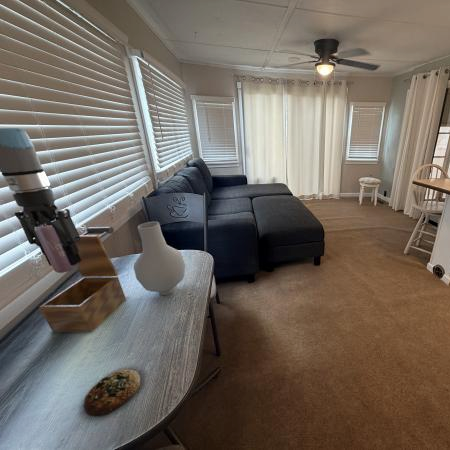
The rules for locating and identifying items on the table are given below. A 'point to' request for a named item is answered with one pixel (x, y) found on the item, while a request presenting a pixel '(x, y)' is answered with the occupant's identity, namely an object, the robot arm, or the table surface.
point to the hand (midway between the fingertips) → (65, 263)
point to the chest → (83, 304)
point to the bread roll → (111, 392)
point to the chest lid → (94, 253)
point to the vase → (158, 261)
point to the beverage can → (54, 248)
